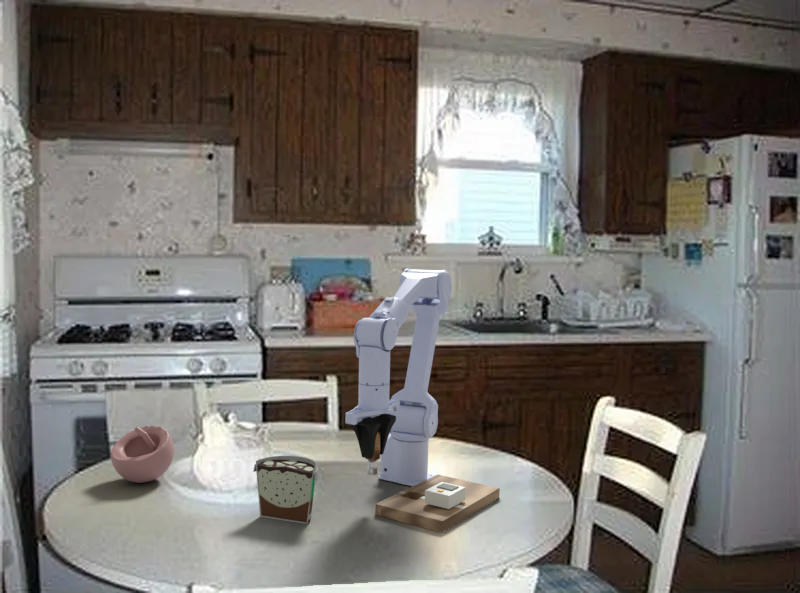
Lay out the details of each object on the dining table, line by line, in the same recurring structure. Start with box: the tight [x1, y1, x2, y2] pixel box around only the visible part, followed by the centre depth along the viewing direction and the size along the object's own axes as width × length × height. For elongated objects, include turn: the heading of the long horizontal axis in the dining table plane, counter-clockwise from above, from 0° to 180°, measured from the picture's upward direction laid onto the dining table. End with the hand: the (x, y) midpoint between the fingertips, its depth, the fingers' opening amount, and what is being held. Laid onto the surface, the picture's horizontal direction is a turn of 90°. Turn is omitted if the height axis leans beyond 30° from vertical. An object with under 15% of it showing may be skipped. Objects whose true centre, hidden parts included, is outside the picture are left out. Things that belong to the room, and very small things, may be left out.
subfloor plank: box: [374, 474, 500, 533], centre depth 144 cm, size 14×22×2 cm, turn 147°
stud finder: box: [425, 482, 466, 509], centre depth 140 cm, size 5×6×3 cm
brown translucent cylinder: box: [364, 430, 381, 476], centre depth 142 cm, size 3×3×8 cm
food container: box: [253, 455, 320, 525], centre depth 138 cm, size 12×6×10 cm, turn 71°
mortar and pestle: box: [110, 425, 175, 484], centre depth 154 cm, size 12×12×11 cm
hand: (372, 455), depth 143 cm, fingers closed on brown translucent cylinder, 3 cm apart
